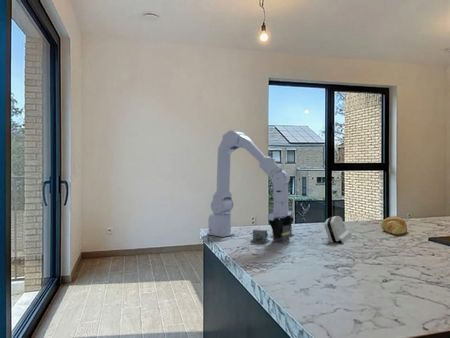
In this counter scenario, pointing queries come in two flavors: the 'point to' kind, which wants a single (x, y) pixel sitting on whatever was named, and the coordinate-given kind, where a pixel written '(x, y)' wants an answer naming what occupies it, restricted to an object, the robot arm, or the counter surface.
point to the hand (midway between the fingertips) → (281, 236)
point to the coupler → (283, 233)
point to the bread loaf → (394, 225)
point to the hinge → (336, 229)
